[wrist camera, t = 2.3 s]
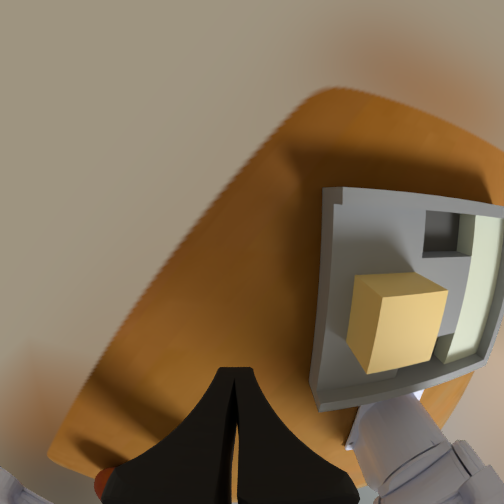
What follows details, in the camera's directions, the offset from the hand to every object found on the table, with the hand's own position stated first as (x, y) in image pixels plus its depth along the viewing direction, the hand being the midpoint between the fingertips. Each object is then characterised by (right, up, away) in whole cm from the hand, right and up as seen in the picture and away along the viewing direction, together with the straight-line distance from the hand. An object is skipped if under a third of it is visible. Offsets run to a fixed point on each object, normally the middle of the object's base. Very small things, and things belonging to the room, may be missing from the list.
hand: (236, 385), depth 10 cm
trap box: (+15, +2, +10) cm, 18 cm away
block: (+10, +2, +7) cm, 12 cm away
